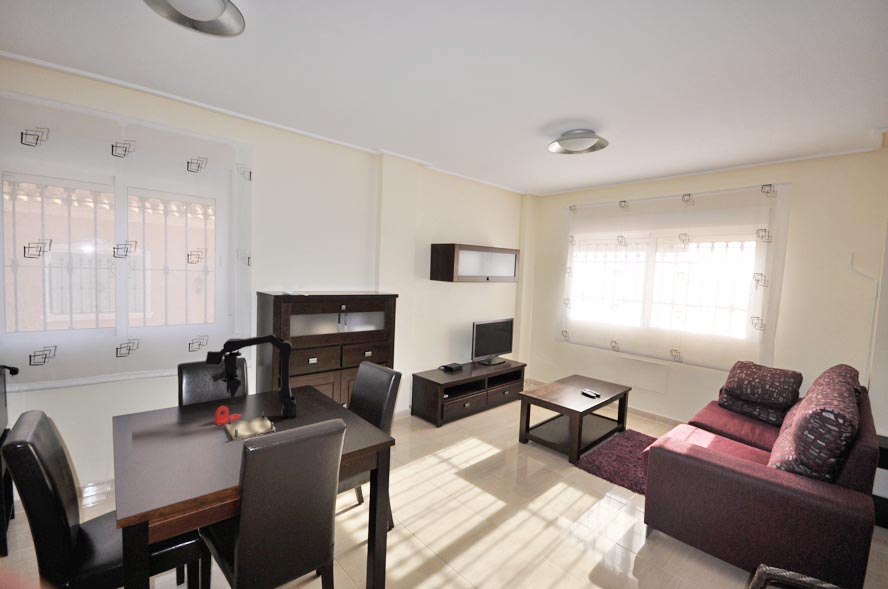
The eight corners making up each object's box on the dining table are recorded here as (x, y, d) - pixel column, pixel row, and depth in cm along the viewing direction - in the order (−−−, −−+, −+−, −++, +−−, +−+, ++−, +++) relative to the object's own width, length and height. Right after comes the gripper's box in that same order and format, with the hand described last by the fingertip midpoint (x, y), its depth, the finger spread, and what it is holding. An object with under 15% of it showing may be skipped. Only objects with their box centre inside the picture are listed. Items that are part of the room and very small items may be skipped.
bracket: (221, 425, 191) (222, 409, 191) (215, 424, 193) (215, 408, 192) (242, 417, 203) (242, 402, 202) (235, 415, 204) (235, 400, 204)
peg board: (265, 419, 201) (265, 410, 201) (275, 431, 187) (275, 422, 187) (225, 426, 190) (225, 417, 190) (233, 440, 176) (233, 431, 176)
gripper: (208, 362, 197) (208, 392, 198) (215, 371, 183) (214, 404, 184) (233, 359, 204) (233, 389, 205) (241, 368, 190) (241, 400, 191)
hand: (230, 395), depth 196 cm, fingers open, 9 cm apart
